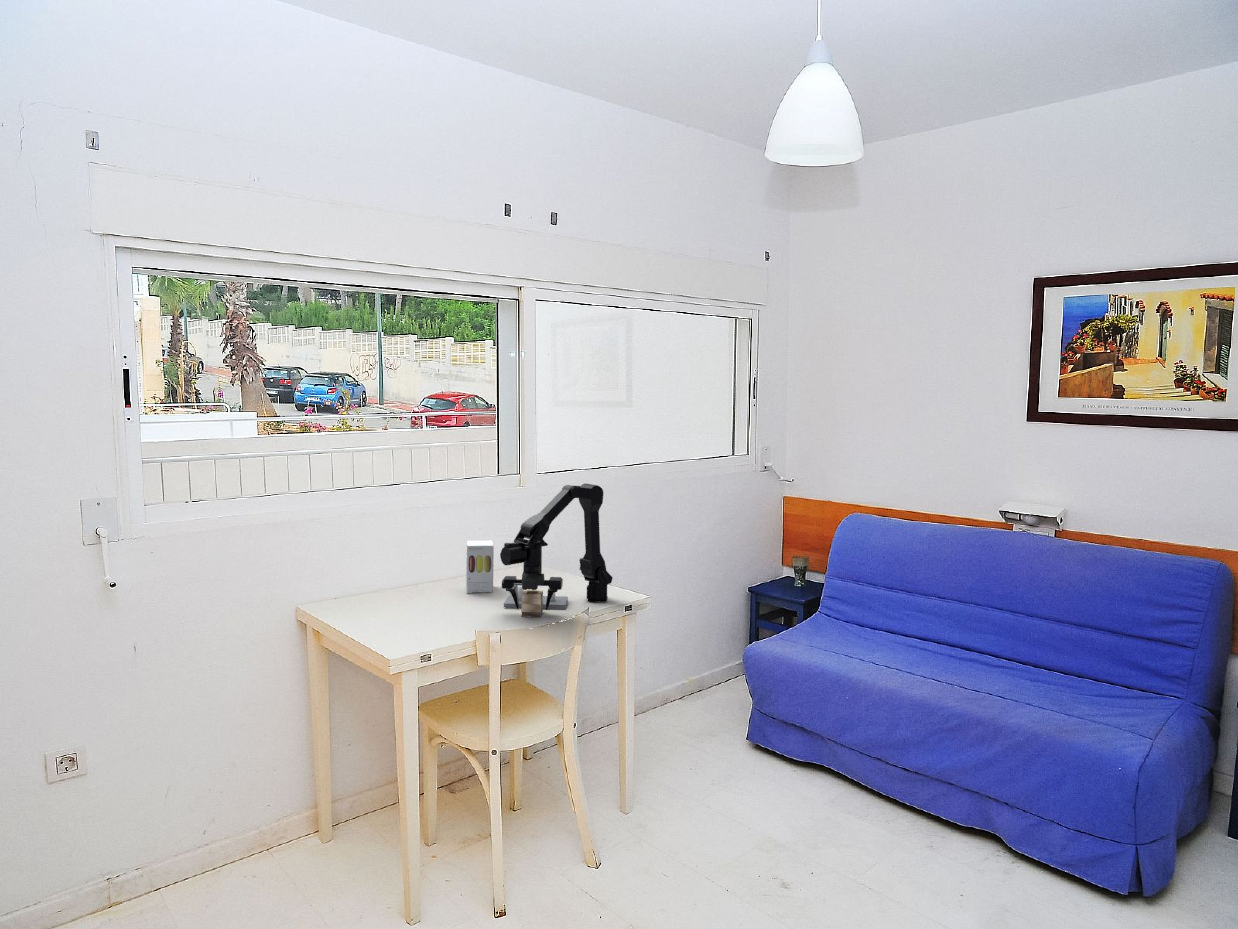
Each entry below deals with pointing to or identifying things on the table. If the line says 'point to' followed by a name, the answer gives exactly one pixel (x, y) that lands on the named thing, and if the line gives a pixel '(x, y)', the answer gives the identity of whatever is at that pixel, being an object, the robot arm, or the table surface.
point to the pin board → (555, 601)
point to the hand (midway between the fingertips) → (532, 609)
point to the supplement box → (479, 566)
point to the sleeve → (532, 603)
